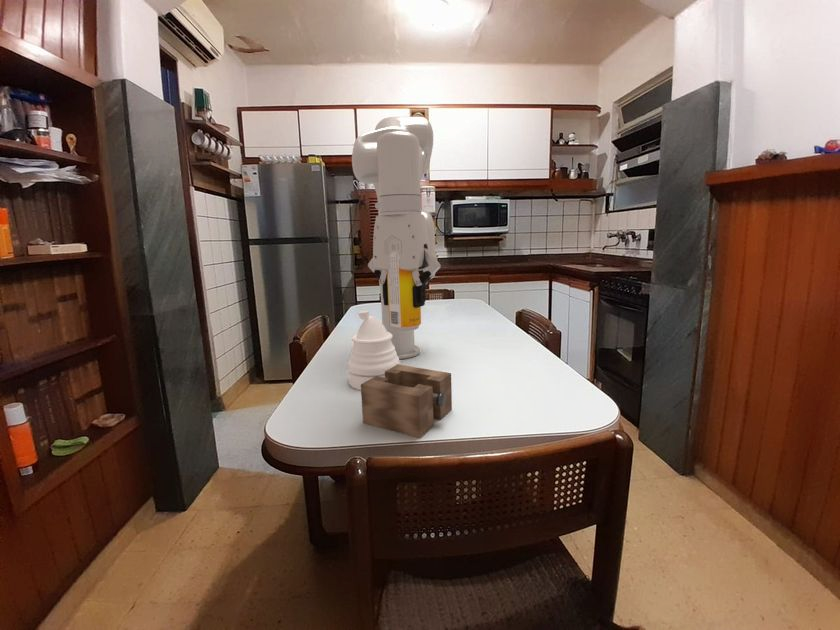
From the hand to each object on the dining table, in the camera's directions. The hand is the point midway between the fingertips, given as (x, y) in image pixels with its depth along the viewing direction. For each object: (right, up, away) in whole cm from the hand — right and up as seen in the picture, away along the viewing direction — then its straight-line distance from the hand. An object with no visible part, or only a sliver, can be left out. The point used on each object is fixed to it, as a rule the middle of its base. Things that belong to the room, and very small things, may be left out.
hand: (404, 304), depth 76 cm
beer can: (0, -5, +1) cm, 5 cm away
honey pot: (-8, -19, +25) cm, 32 cm away
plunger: (+5, -19, +1) cm, 20 cm away
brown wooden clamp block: (+1, -22, +5) cm, 23 cm away
